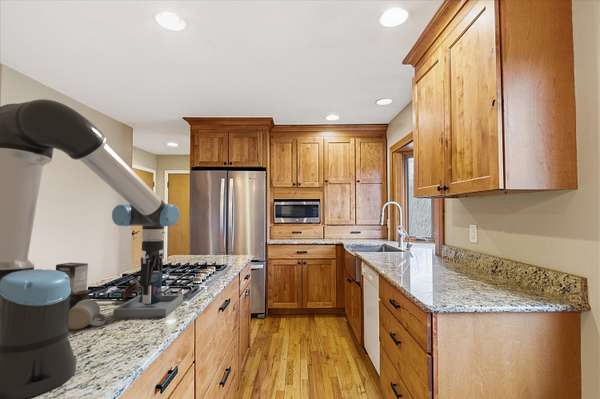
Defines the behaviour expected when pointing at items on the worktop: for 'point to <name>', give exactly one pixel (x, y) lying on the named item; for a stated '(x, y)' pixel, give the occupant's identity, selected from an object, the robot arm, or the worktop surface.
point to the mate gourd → (78, 297)
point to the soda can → (155, 287)
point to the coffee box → (75, 274)
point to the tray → (148, 307)
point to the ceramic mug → (85, 315)
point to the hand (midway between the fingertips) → (151, 300)
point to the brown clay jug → (131, 289)
